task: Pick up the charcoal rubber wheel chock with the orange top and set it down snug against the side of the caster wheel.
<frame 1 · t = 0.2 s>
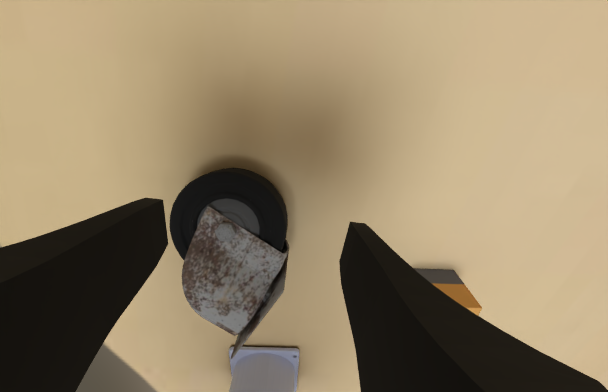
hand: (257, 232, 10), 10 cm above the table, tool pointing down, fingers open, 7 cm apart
chock: (411, 284, 25), on the table
caster wheel: (238, 225, 22), on the table
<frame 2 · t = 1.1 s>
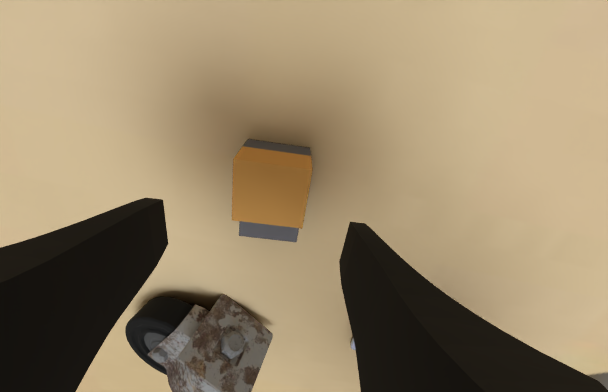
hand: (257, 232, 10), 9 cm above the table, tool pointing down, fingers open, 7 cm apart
chock: (274, 186, 20), on the table
caster wheel: (201, 318, 27), on the table
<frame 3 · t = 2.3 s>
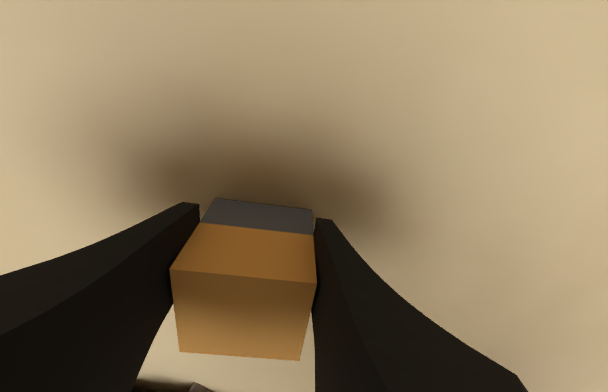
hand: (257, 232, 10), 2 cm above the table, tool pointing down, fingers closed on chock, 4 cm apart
chock: (259, 262, 13), on the table, touching gripper
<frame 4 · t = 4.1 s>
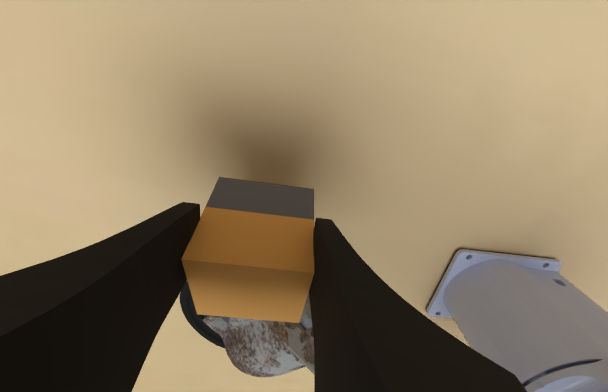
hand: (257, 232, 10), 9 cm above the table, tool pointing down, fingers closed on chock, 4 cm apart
chock: (264, 232, 14), point 5 cm above the table, tilted 14°, touching gripper
caster wheel: (256, 287, 24), on the table
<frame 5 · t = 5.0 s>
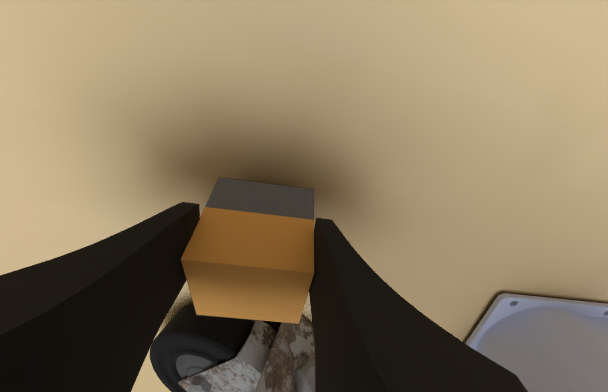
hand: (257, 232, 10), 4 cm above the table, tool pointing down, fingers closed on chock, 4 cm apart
chock: (263, 232, 14), point 1 cm above the table, tilted 14°, touching gripper
caster wheel: (247, 334, 20), on the table
when the fingers open (3 cm above the table, at t = 5.7 s): chock stays where it is, on the table.
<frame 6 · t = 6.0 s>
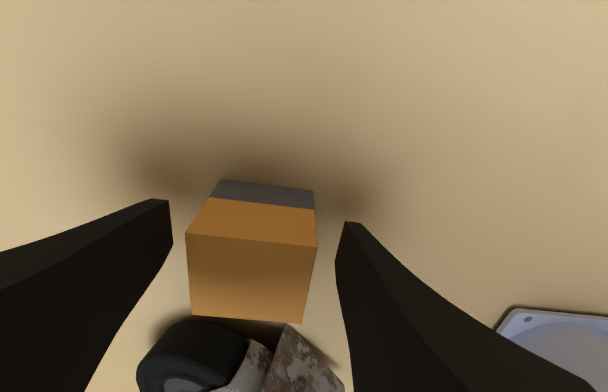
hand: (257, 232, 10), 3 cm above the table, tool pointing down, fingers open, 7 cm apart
chock: (262, 240, 14), on the table
caster wheel: (241, 352, 19), on the table
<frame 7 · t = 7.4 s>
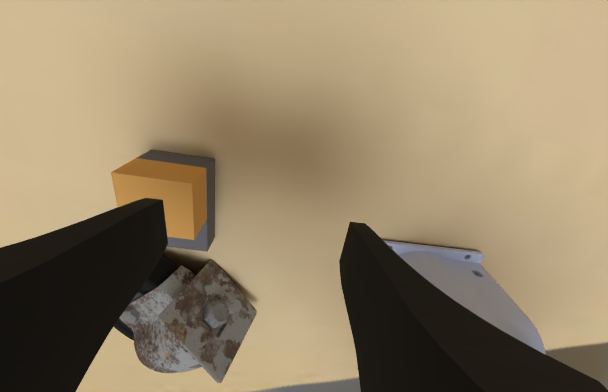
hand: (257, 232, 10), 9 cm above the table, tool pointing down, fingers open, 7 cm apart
chock: (186, 196, 20), on the table
caster wheel: (180, 284, 24), on the table
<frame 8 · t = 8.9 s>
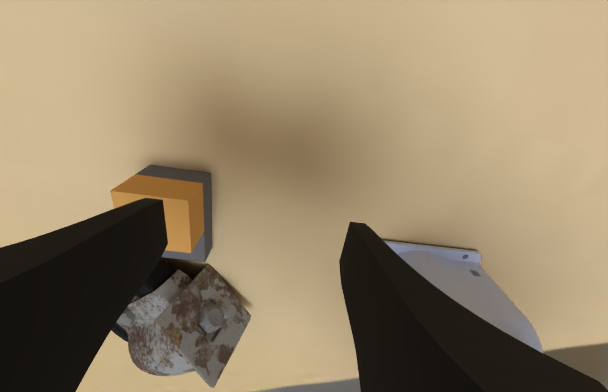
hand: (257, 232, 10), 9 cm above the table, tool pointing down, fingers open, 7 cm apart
chock: (184, 208, 21), on the table
caster wheel: (176, 287, 25), on the table
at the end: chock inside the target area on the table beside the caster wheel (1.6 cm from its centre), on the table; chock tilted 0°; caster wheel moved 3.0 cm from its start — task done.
